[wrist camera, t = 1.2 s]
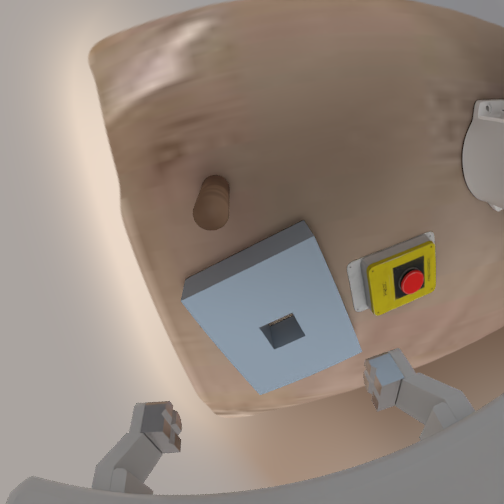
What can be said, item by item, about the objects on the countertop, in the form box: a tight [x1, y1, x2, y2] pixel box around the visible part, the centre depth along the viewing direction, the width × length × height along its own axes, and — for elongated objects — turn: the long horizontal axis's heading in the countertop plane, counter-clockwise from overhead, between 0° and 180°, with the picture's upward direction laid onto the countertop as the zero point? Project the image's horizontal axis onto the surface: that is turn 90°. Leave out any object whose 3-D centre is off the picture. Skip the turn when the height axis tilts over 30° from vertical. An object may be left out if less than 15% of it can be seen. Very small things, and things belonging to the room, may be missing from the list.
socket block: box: [181, 220, 362, 395], centre depth 40 cm, size 17×21×5 cm
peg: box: [193, 175, 229, 230], centre depth 30 cm, size 3×3×9 cm
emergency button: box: [347, 232, 436, 316], centre depth 40 cm, size 9×4×15 cm
